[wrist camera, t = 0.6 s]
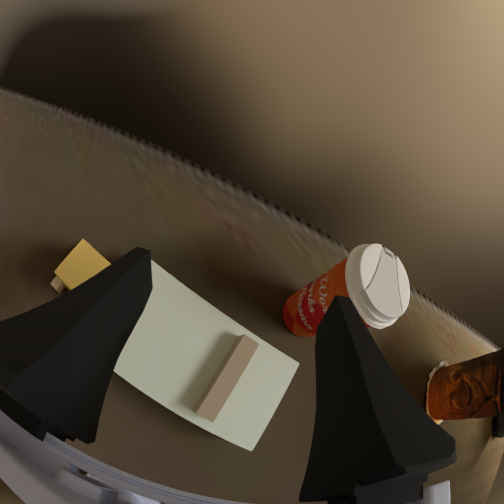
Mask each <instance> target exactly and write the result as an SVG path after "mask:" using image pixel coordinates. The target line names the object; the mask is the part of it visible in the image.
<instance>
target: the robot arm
mask: <svg viewBox="0 0 504 504" xmlns="http://www.w3.org/2000/svg"><path fill="white" fill-rule="evenodd" d="M152 289H153V284H152V268H151V251H150V250H147V249H143V248H139V247H136V248H134V249H133V250H131V251H130V252H128V253H127V254H125V255H124V256H122V257H121V258H119V259H118V260H116V261H115V262H113V263H112V264H111V265H109V266H108V267H106V268H105V269H103V270H102V271H100V272H99V273H97V274H96V275H94V276H93V277H91V278H89V279H88V280H86V281H85V282H83V283H81V284H80V285H78V286H77V287H75V288H73V289H72V290H70V291H68V292H67V293H65V294H63V295H61V296H59V297H57V298H55V299H54V300H52V301H50V302H48V303H45V304H43V305H41V306H39V307H36V308H34V309H32V310H30V311H28V312H25V313H22V314H20V315H17V316H14V317H11V318H9V319H5V320H2V321H0V478H1V479H2V480H3V481H4V482H5V483H6V484H7V486H8V487H9V488H10V489H11V490H12V491H13V492H14V493H15V494H16V495H17V496H18V497H19V498H20V499H22V500H23V501H24V502H25V503H26V504H160V502H162V503H165V504H251V503H243V502H235V501H228V500H222V499H217V498H211V497H206V496H201V495H197V494H193V493H188V492H184V491H181V490H177V489H173V488H170V487H166V486H163V485H160V484H157V483H153V482H150V481H148V480H145V479H142V478H139V477H136V476H134V475H131V474H129V473H126V472H123V471H121V470H119V469H116V468H114V467H112V466H109V465H107V464H105V463H103V462H101V461H99V460H96V459H94V458H92V457H90V456H88V455H86V454H84V453H83V452H81V451H79V450H77V449H75V448H73V447H71V446H70V445H68V444H66V443H65V440H66V438H68V439H70V440H71V441H73V442H74V441H75V439H76V438H77V439H79V440H81V441H83V442H84V443H86V444H90V443H93V442H95V438H96V432H97V427H98V422H99V417H100V413H101V409H102V406H103V402H104V398H105V395H106V392H107V388H108V385H109V382H110V379H111V376H112V374H113V371H114V368H115V365H116V363H117V360H118V358H119V356H120V354H121V352H122V350H123V348H124V346H125V344H126V342H127V340H128V338H129V337H130V335H131V333H132V331H133V329H134V327H135V326H136V324H137V322H138V320H139V318H140V317H141V315H142V313H143V311H144V309H145V307H146V304H147V302H148V299H149V297H150V294H151V292H152ZM315 363H316V395H317V402H316V416H315V425H314V433H313V439H312V445H311V451H310V456H309V461H308V465H307V469H306V473H305V477H304V481H303V484H302V488H301V491H300V496H299V502H323V501H328V503H327V504H450V481H448V480H447V481H444V482H441V483H438V484H435V485H432V486H429V487H426V488H423V483H425V482H427V480H428V477H427V474H429V473H432V472H434V471H437V470H439V469H442V468H444V467H446V466H449V465H451V464H453V463H454V462H456V460H457V453H456V445H455V439H454V438H453V437H452V436H450V435H449V434H448V433H447V432H446V431H445V430H443V429H442V428H441V427H440V426H439V425H438V424H437V423H436V422H435V421H434V420H433V419H432V418H431V417H430V416H429V415H428V414H427V413H426V412H425V411H424V410H423V409H422V408H421V407H420V406H419V404H418V403H417V402H416V401H415V400H414V398H413V397H412V396H411V395H410V394H409V392H408V391H407V390H406V389H405V387H404V386H403V385H402V383H401V382H400V380H399V379H398V378H397V376H396V375H395V374H394V372H393V371H392V369H391V368H390V366H389V365H388V363H387V361H386V360H385V358H384V357H383V355H382V353H381V352H380V350H379V348H378V347H377V345H376V343H375V341H374V340H373V338H372V336H371V334H370V333H369V331H368V329H367V327H366V325H365V324H364V322H363V320H362V318H361V316H360V315H359V313H358V311H357V309H356V307H355V306H354V304H353V302H352V300H351V299H350V298H349V297H345V296H340V295H335V297H334V298H333V300H332V302H331V304H330V306H329V307H328V309H327V311H326V313H325V314H324V316H323V318H322V320H321V321H320V323H319V325H318V327H317V332H316V344H315ZM77 467H78V468H80V469H82V470H83V471H85V472H87V474H86V476H85V475H83V474H80V473H79V472H78V470H77Z"/></svg>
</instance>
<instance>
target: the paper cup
mask: <svg viewBox="0 0 504 504" xmlns="http://www.w3.org/2000/svg"><path fill="white" fill-rule="evenodd" d="M335 295H340V296H345V297H349V298H350V299H351V300H352V302H353V304H354V306H355V307H356V309H357V311H358V313H359V315H360V316H361V318H362V320H363V322H364V324H365V325H366V327H371V326H372V327H374V328H377V329H382V328H385V327H387V326H390V325H392V324H393V323H394V322H395V321H396V320H397V319H398V317H399V316H401V315H403V313H404V312H405V311H406V309H407V307H408V304H409V299H410V286H409V280H408V276H407V273H406V271H405V269H404V266H403V264H402V263H401V261H400V259H399V258H398V257H397V256H394V254H393V253H392V252H391V251H389V250H388V249H387V248H383V247H382V245H381V244H371V245H370V244H363V245H359V246H357V247H355V249H353V250H352V251H351V253H350V254H349V256H348V257H347V258H346V259H344V260H343V261H342V262H340V263H339V264H337V265H336V266H334V267H333V268H331V269H330V270H328V271H327V272H326V273H324V274H323V275H321V276H320V277H318V278H317V279H315V280H314V281H312V282H311V283H309V284H308V285H306V286H305V287H303V288H302V289H300V290H299V291H297V292H296V293H294V294H293V295H292V296H290V297H289V298H288V299H287V301H286V302H285V304H284V307H283V319H284V323H285V325H286V327H287V328H288V329H289V330H290V331H291V332H292V333H293V334H295V335H297V336H300V337H311V336H316V332H317V327H318V325H319V323H320V321H321V320H322V318H323V316H324V314H325V313H326V311H327V309H328V307H329V306H330V304H331V302H332V300H333V298H334V297H335Z"/></svg>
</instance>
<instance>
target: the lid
mask: <svg viewBox="0 0 504 504" xmlns="http://www.w3.org/2000/svg"><path fill="white" fill-rule="evenodd" d="M151 268H152V284H153V289H152V292H151V294H150V297H149V299H148V302H147V304H146V307H145V309H144V311H143V313H142V315H141V317H140V318H139V320H138V322H137V324H136V326H135V327H134V329H133V331H132V333H131V335H130V337H129V338H128V340H127V342H126V344H125V346H124V348H123V350H122V352H121V354H120V356H119V358H118V360H117V363H116V365H115V368H114V372H116V373H117V374H118V375H119V376H121V377H122V378H124V379H125V380H126V381H128V382H129V383H130V384H132V385H133V386H135V387H136V388H137V389H139V390H140V391H142V392H143V393H145V394H146V395H148V396H149V397H151V398H152V399H154V400H155V401H157V402H158V403H160V404H161V405H163V406H165V407H166V408H168V409H170V410H171V411H173V412H175V413H176V414H178V415H180V416H181V417H183V418H185V419H187V420H188V421H190V422H192V423H194V424H196V425H197V426H199V427H201V428H203V429H205V430H207V431H209V432H211V433H213V434H215V435H217V436H219V437H221V438H223V439H225V440H227V441H229V442H231V443H234V444H236V445H238V446H240V447H243V448H245V449H247V450H250V451H252V450H253V449H254V447H255V445H256V444H257V442H258V440H259V439H260V437H261V435H262V433H263V432H264V430H265V428H266V426H267V425H268V423H269V421H270V419H271V418H272V416H273V414H274V412H275V410H276V408H277V407H278V405H279V403H280V401H281V399H282V397H283V395H284V393H285V391H286V389H287V388H288V386H289V384H290V382H291V380H292V378H293V376H294V374H295V372H296V370H297V368H298V365H299V363H298V362H296V361H295V360H293V359H292V358H290V357H288V356H287V355H285V354H284V353H282V352H280V351H279V350H277V349H276V348H274V347H273V346H271V345H270V344H268V343H266V342H265V341H263V340H262V339H260V338H259V337H257V336H256V335H254V334H253V333H251V332H250V331H248V330H247V329H245V328H244V327H242V326H241V325H239V324H238V323H237V322H235V321H234V320H232V319H231V318H229V317H228V316H226V315H225V314H224V313H222V312H221V311H219V310H218V309H216V308H215V307H214V306H212V305H211V304H209V303H208V302H207V301H205V300H204V299H203V298H201V297H200V296H198V295H197V294H196V293H194V292H193V291H192V290H190V289H189V288H188V287H186V286H185V285H184V284H182V283H181V282H180V281H178V280H177V279H176V278H174V277H173V276H172V275H170V274H169V273H168V272H166V271H165V270H164V269H163V268H161V267H160V266H159V265H157V264H156V263H155V262H154V261H152V260H151Z"/></svg>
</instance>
